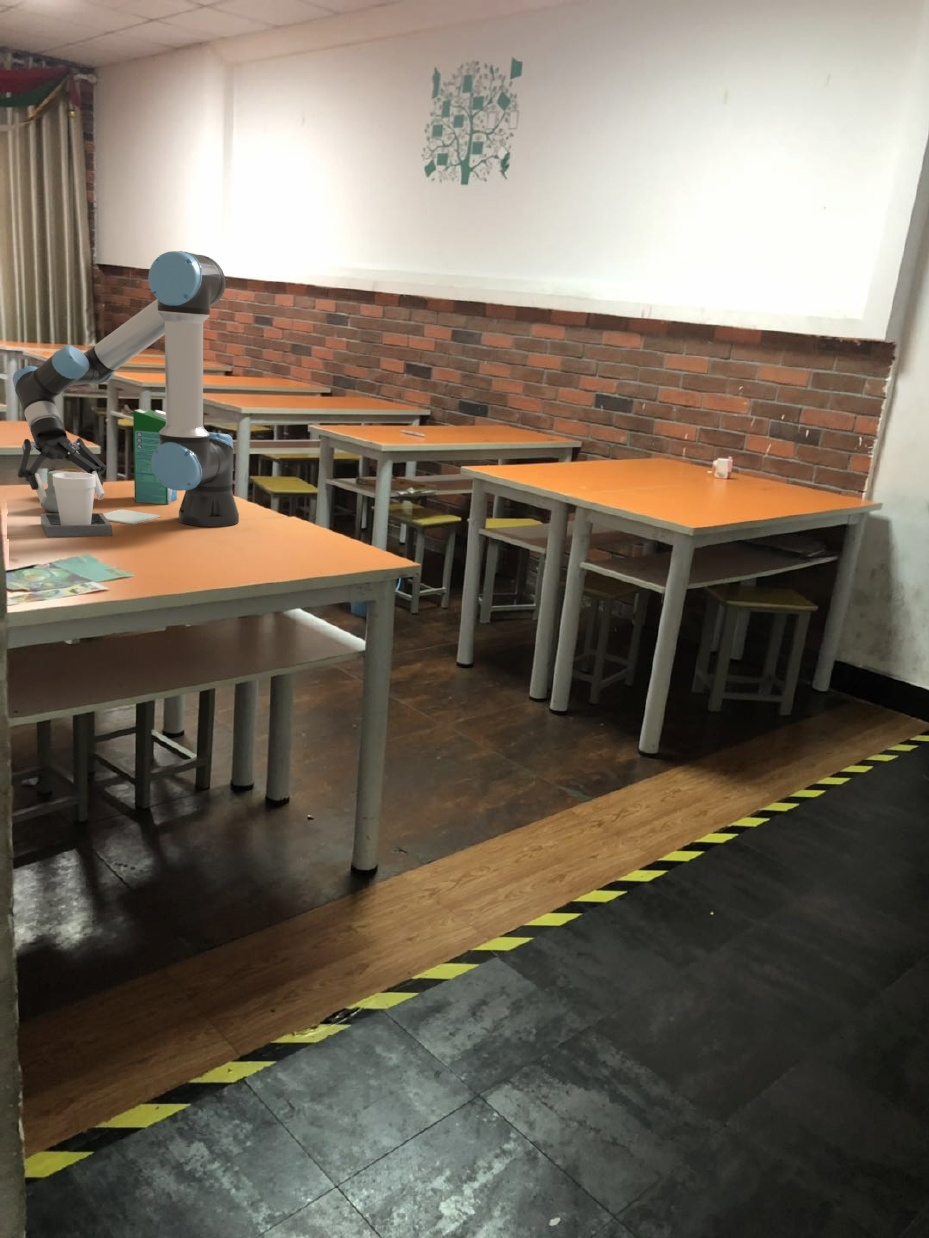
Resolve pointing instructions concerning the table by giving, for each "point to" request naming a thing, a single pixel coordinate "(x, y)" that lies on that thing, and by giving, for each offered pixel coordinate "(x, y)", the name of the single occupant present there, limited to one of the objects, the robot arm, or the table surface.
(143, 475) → the milk carton
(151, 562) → the table surface
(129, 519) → the pad
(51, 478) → the air freshener
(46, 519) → the grey square frame
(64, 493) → the foam cup
